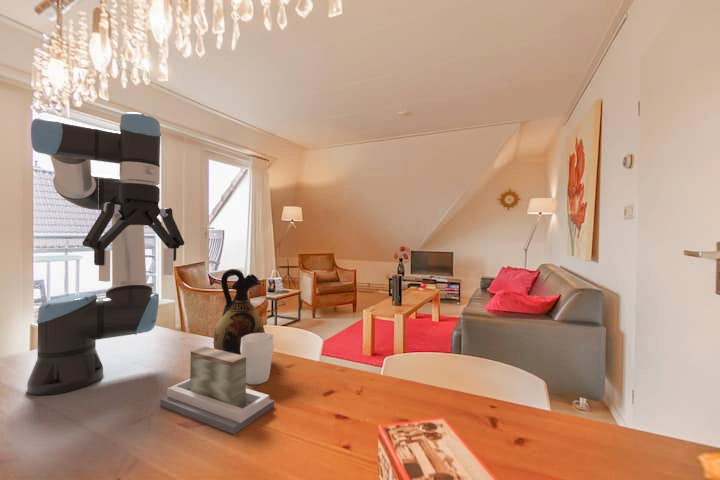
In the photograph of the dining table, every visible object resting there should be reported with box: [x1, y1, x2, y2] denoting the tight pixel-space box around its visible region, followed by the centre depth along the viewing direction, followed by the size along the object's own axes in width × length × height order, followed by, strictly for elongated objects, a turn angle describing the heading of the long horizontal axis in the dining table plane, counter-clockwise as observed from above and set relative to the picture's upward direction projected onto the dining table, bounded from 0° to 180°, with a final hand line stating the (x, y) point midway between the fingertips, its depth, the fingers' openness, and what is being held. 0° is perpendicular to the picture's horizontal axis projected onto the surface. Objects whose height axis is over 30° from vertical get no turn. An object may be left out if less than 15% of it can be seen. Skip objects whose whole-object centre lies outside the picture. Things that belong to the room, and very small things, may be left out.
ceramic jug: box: [212, 268, 266, 355], centre depth 101 cm, size 17×15×30 cm
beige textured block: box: [189, 346, 247, 407], centre depth 75 cm, size 14×4×11 cm, turn 64°
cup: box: [240, 332, 275, 386], centre depth 90 cm, size 9×9×12 cm
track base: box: [159, 378, 275, 435], centre depth 75 cm, size 24×12×4 cm, turn 64°
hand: (139, 277), depth 72 cm, fingers open, 13 cm apart
